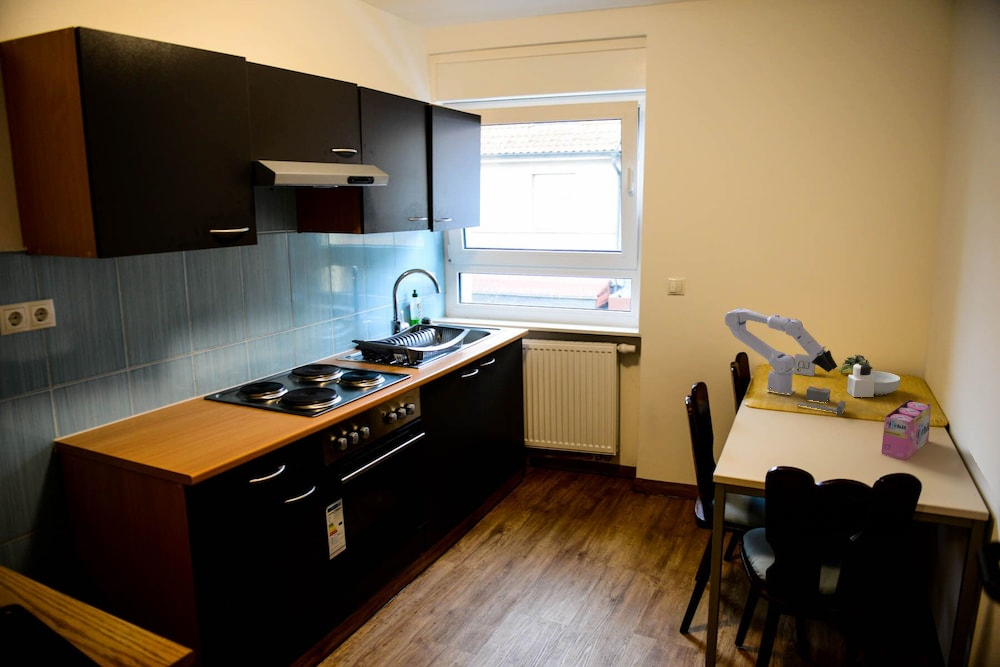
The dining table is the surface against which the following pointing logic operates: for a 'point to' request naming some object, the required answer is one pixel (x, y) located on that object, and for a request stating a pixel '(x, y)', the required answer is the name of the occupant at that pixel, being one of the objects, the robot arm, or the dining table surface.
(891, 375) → the cereal bowl
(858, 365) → the container
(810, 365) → the electrical switch
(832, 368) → the robot arm
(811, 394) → the block
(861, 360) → the potted plant
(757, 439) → the dining table surface
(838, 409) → the rail
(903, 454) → the gum box
